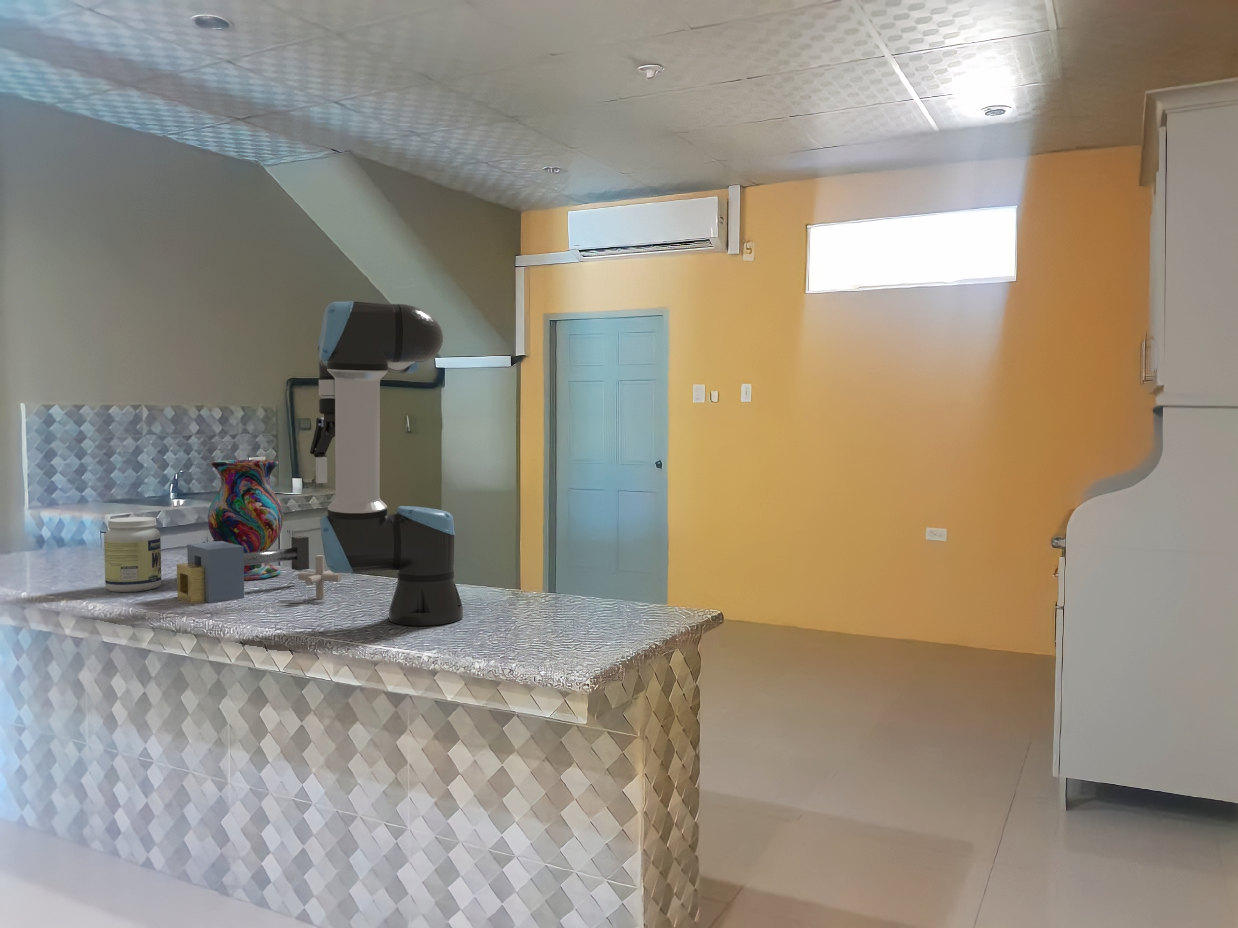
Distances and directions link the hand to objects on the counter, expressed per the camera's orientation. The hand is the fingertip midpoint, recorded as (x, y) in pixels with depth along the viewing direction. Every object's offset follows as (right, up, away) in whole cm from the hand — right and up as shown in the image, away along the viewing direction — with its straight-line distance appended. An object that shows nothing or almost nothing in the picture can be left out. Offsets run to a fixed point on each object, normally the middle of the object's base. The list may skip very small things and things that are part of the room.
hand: (336, 484), depth 231 cm
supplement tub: (-48, -25, -4) cm, 54 cm away
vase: (-28, -25, +14) cm, 39 cm away
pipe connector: (+1, -26, -16) cm, 31 cm away
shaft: (-16, -21, -6) cm, 27 cm away
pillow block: (-24, -26, -14) cm, 38 cm away
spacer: (-28, -22, -18) cm, 40 cm away
